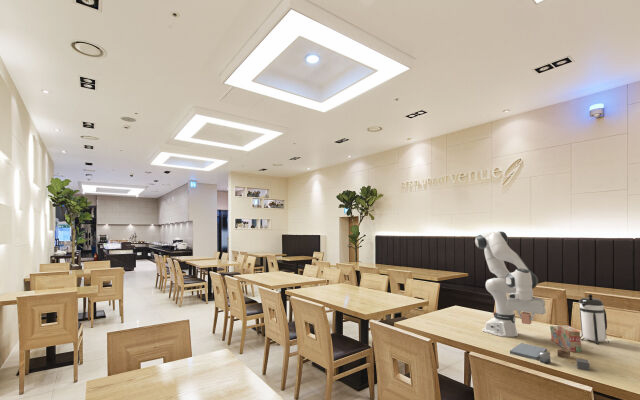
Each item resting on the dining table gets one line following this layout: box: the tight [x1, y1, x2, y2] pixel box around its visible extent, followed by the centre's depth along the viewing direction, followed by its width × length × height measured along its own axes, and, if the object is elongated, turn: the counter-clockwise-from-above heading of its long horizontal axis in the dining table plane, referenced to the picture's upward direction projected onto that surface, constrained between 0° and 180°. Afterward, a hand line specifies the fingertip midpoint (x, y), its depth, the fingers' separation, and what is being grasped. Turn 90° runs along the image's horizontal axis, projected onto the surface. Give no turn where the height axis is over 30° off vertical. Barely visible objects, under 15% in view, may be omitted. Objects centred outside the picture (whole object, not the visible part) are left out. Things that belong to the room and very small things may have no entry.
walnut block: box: [556, 347, 571, 360], centre depth 191 cm, size 5×5×4 cm
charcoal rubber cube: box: [575, 357, 591, 372], centre depth 175 cm, size 5×5×4 cm
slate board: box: [509, 342, 548, 361], centre depth 198 cm, size 14×20×2 cm
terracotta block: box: [520, 311, 532, 325], centre depth 200 cm, size 4×4×6 cm
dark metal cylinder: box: [539, 351, 552, 365], centre depth 184 cm, size 5×5×5 cm
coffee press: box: [578, 293, 610, 346], centre depth 218 cm, size 17×16×30 cm
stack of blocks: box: [549, 324, 582, 353], centre depth 209 cm, size 21×6×12 cm, turn 171°
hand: (526, 319), depth 200 cm, fingers closed on terracotta block, 4 cm apart
